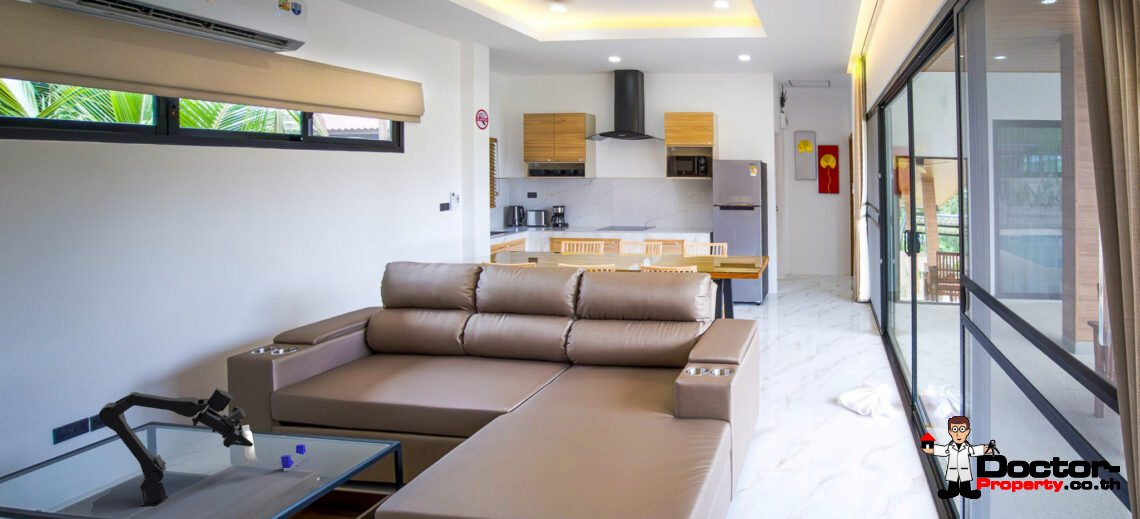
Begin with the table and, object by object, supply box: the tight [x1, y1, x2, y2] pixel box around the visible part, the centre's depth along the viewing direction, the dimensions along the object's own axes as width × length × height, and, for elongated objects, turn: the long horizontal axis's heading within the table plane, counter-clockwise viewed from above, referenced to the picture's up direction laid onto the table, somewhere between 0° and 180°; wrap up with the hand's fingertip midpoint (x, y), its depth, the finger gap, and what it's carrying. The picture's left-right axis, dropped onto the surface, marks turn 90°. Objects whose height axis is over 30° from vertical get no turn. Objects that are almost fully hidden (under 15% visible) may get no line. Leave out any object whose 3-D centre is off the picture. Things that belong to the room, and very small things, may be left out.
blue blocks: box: [280, 443, 307, 469], centre depth 297 cm, size 12×4×6 cm, turn 169°
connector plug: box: [242, 424, 258, 466], centre depth 285 cm, size 4×4×14 cm
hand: (252, 443), depth 286 cm, fingers closed on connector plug, 3 cm apart
